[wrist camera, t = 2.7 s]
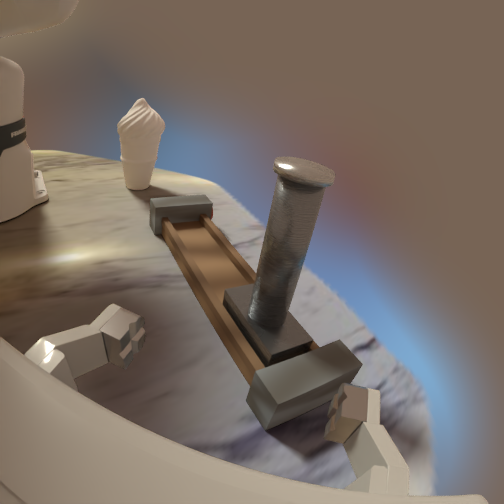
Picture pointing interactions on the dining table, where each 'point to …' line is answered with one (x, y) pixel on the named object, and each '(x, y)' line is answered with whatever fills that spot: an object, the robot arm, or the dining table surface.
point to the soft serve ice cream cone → (139, 144)
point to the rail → (211, 300)
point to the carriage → (281, 264)
